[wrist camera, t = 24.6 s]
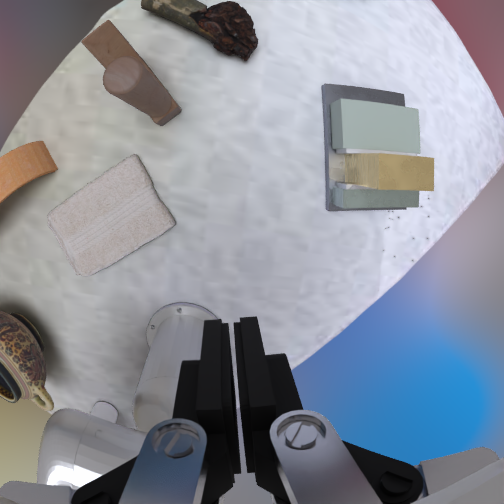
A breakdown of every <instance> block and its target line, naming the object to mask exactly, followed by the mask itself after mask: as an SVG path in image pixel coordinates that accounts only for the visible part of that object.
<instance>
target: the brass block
mask: <svg viewBox="0 0 504 504" xmlns="http://www.w3.org/2000/svg"><path fill="white" fill-rule="evenodd" d="M345 182H346V183H351V184H356V185H360V186H365V187H369V188H374V189H378V190H418V191H434V158H429V157H419V156H409V155H397V154H384V153H356V154H345Z"/></svg>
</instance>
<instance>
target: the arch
mask: <svg viewBox="0 0 504 504" xmlns="http://www.w3.org/2000/svg"><path fill="white" fill-rule="evenodd" d="M55 170H58V168H57V166H56V164H55V163H54V161H53V159H52V157H51V155H50V153H49V151H48V150H47V148H46V146H45V144H44V142H43V141H36V142H32V143H28V144H25V145H23V146H20V147H18V148H16V149H14V150H12V151H10V152H9V153H7V154H5V155H4V156H2V157H1V158H0V203H1V202H3V201H4V200H5V199H6V198H7V197H8V196H9V195H11V194H12V193H13V192H15V191H16V190H17V189H19V188H20V187H22V186H23V185H25V184H26V183H28V182H30V181H32V180H34V179H36V178H38V177H40V176H42V175H45V174H48V173H52V172H55Z"/></svg>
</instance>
